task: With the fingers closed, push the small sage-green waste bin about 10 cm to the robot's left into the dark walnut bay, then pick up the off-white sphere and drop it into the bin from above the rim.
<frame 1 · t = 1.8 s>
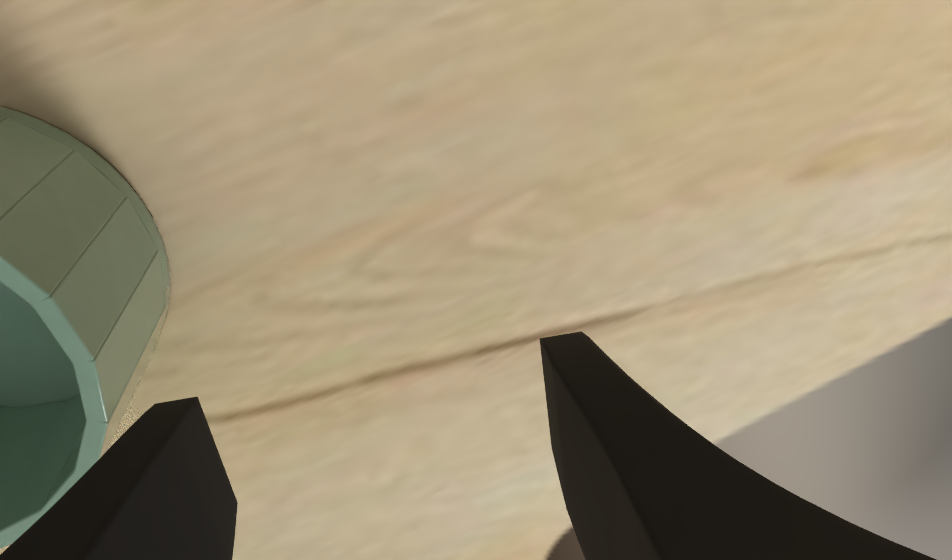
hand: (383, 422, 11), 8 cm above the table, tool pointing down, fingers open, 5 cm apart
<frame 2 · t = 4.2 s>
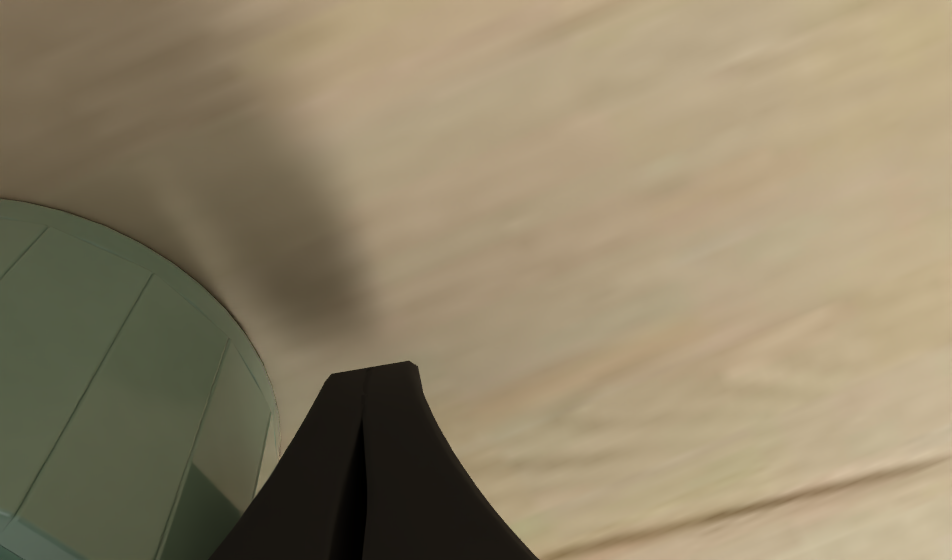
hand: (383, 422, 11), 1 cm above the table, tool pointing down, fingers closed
waste bin: (23, 429, 12), on the table, touching gripper
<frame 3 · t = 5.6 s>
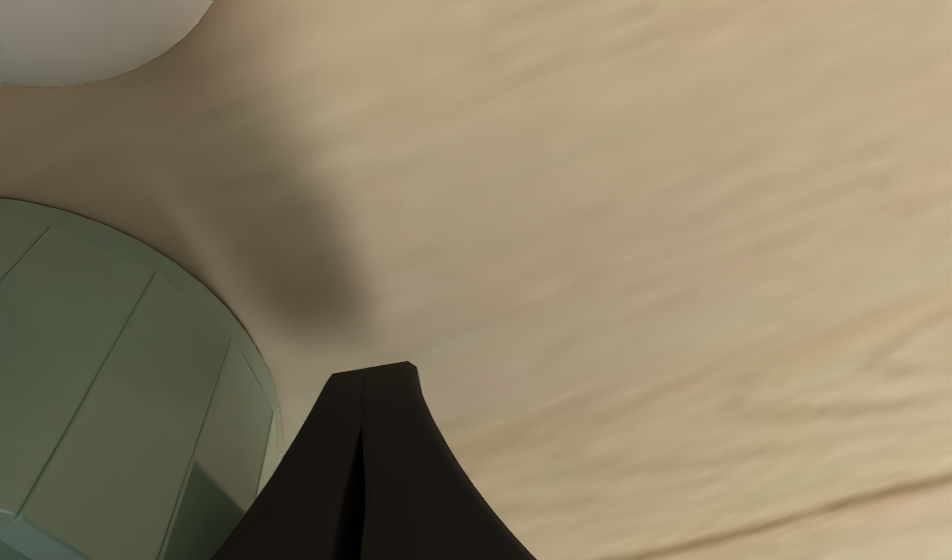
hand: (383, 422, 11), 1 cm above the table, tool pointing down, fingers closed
waste bin: (25, 429, 12), on the table, touching gripper
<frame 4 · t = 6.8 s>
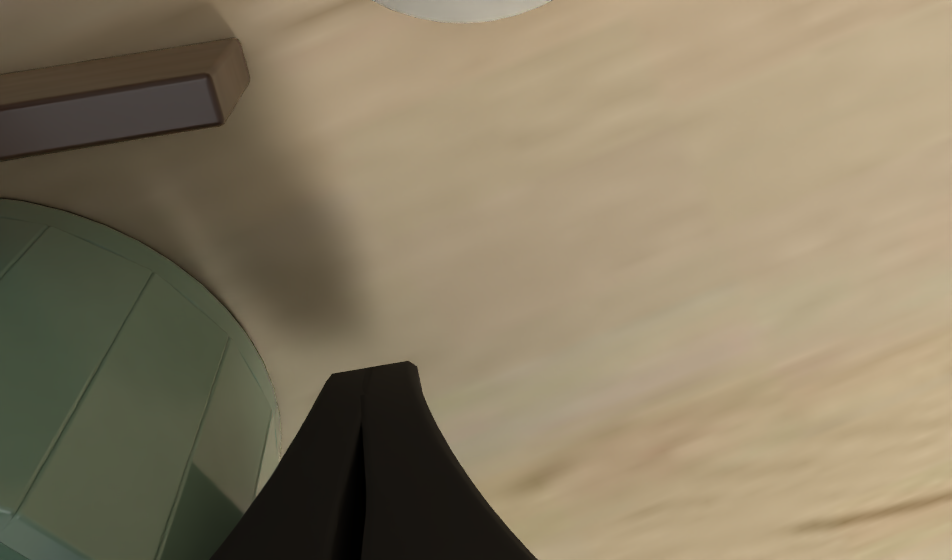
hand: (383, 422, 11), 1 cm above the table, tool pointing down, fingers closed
waste bin: (24, 429, 12), on the table, touching gripper
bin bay: (17, 430, 12), on the table
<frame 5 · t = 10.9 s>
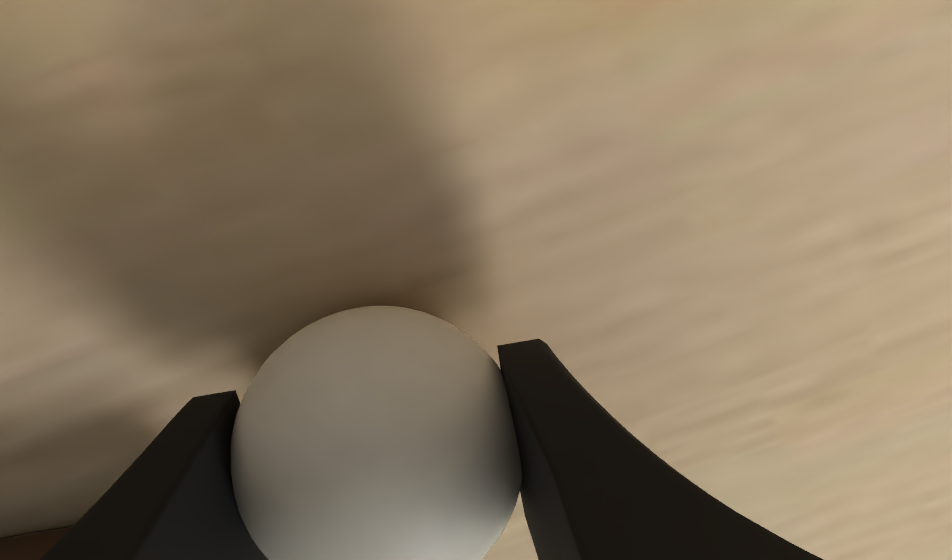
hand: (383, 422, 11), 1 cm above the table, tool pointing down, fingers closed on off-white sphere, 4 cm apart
off-white sphere: (380, 449, 11), point 2 cm above the table, touching gripper
when the fingers open (6 cm above the table, at t = 14.8 s): off-white sphere drops 4 cm, resting on waste bin.
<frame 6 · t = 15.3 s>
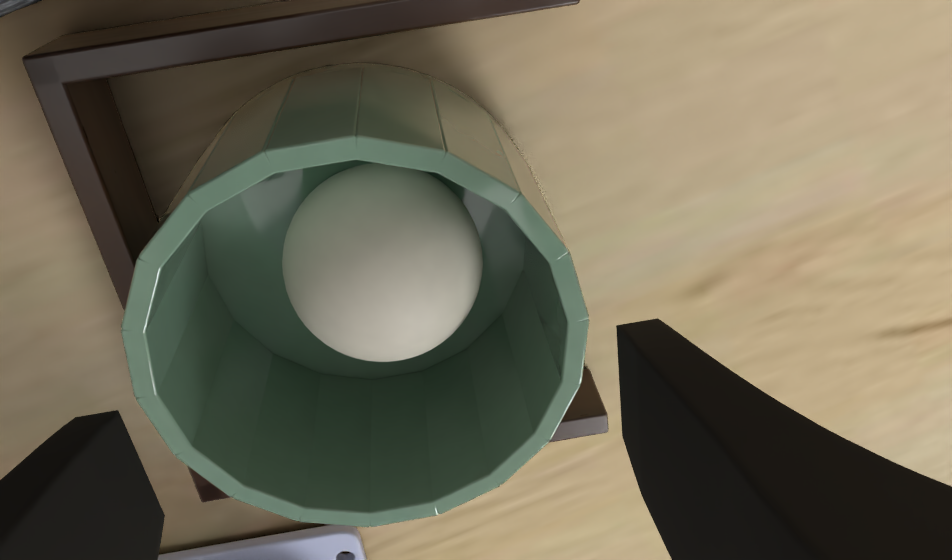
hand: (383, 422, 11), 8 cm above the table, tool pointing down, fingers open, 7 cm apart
waste bin: (368, 235, 18), on the table, touching off-white sphere
off-white sphere: (383, 262, 16), point 3 cm above the table, touching waste bin
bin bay: (364, 236, 18), on the table
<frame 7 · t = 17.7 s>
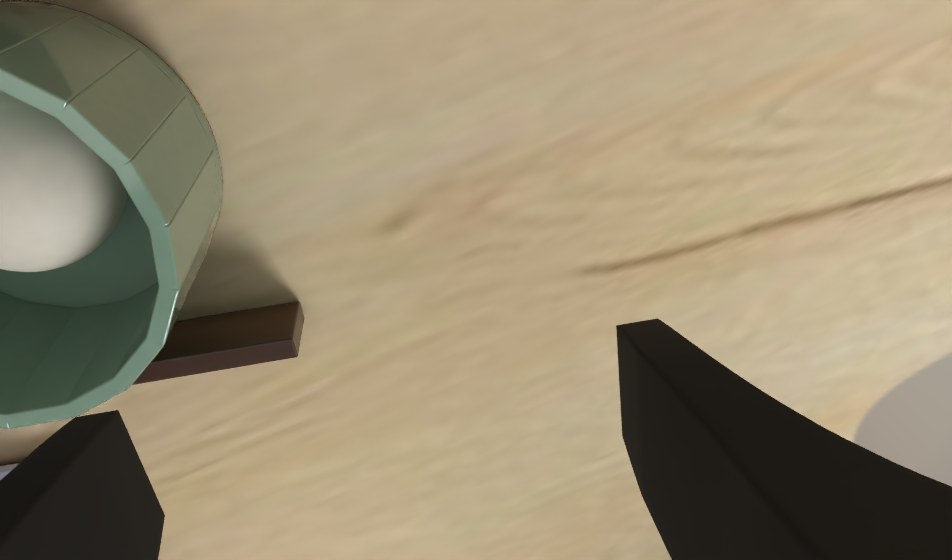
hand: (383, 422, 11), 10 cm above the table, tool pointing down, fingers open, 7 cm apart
waste bin: (57, 168, 20), on the table, touching off-white sphere
off-white sphere: (27, 180, 17), point 3 cm above the table, touching waste bin
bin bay: (53, 169, 20), on the table
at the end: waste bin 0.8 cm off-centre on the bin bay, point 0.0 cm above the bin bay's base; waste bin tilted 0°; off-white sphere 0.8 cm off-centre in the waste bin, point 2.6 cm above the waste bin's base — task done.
